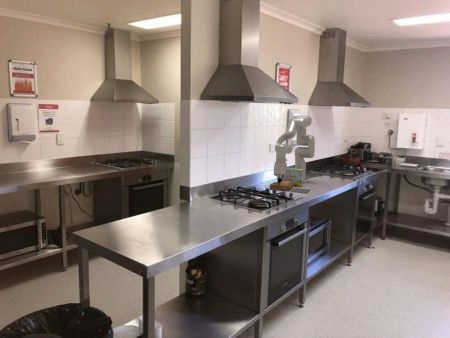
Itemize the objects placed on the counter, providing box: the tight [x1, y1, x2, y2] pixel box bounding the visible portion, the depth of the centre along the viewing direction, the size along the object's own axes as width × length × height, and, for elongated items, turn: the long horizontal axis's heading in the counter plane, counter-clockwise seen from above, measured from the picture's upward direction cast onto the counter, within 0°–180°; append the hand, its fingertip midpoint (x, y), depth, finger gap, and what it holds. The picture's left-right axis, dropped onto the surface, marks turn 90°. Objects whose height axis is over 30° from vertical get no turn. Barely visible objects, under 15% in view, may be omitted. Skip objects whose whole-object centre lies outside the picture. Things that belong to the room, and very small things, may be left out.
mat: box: [290, 187, 311, 194], centre depth 291 cm, size 16×13×1 cm
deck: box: [269, 181, 294, 193], centre depth 296 cm, size 14×16×4 cm
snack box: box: [276, 167, 304, 189], centre depth 311 cm, size 21×6×15 cm, turn 62°
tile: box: [280, 180, 290, 186], centre depth 295 cm, size 9×6×2 cm, turn 158°
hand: (279, 182), depth 297 cm, fingers closed
